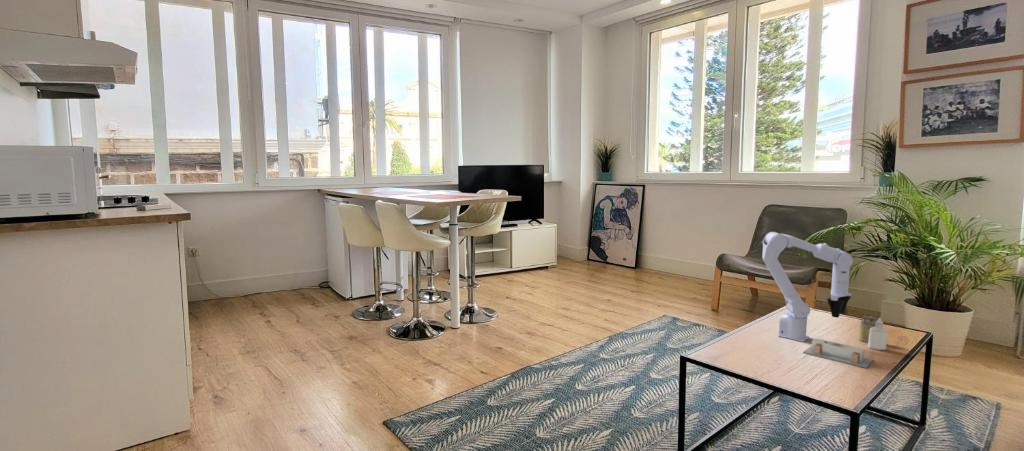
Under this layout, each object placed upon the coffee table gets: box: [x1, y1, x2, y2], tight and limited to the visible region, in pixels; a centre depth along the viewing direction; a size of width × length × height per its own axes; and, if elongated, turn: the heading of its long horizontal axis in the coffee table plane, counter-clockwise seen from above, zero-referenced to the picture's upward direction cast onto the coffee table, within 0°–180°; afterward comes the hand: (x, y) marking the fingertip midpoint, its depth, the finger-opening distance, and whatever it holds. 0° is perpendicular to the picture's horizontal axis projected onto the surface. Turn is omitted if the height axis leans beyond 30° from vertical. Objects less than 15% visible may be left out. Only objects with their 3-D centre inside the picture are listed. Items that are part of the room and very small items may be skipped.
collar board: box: [802, 345, 874, 369], centre depth 194 cm, size 20×10×4 cm, turn 45°
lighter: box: [858, 315, 879, 343], centre depth 210 cm, size 7×4×10 cm, turn 48°
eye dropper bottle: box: [867, 317, 889, 351], centre depth 202 cm, size 4×6×12 cm
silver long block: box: [811, 338, 866, 363], centre depth 194 cm, size 16×4×4 cm, turn 45°
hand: (838, 314), depth 211 cm, fingers open, 7 cm apart
